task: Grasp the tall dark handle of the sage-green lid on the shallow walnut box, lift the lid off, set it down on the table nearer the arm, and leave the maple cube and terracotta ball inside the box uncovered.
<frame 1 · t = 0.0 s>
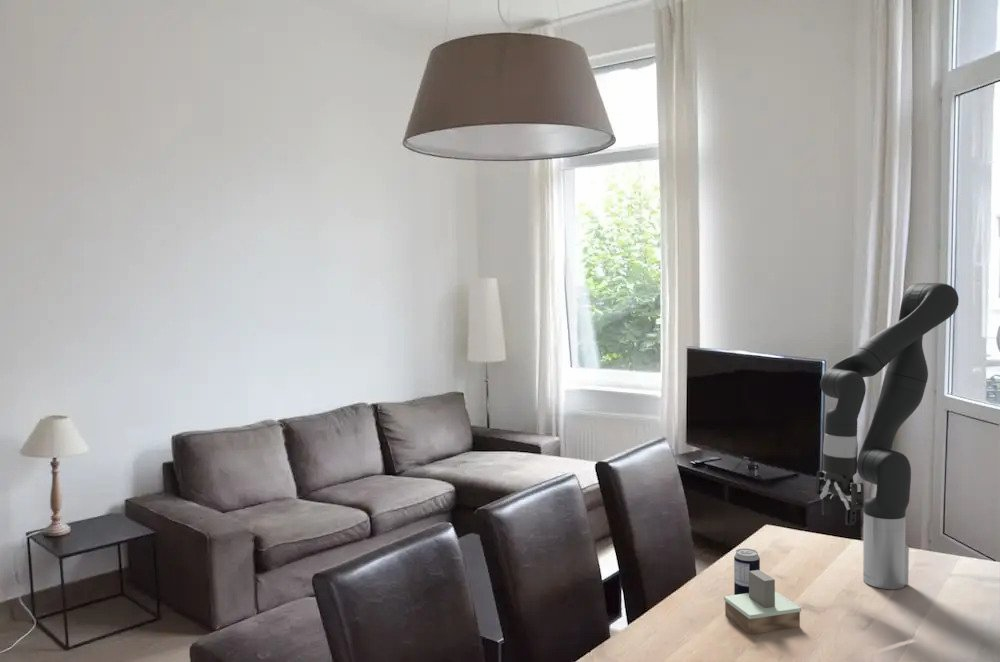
hand: (837, 519, 188), 17 cm above the table, tool pointing down, fingers open, 8 cm apart
terracotta ball: (751, 615, 171), point 2 cm above the table, touching box
box: (761, 623, 172), on the table
maple cube: (771, 619, 173), point 1 cm above the table, touching box
lid: (761, 605, 172), point 4 cm above the table, touching box
beverage can: (747, 603, 183), on the table
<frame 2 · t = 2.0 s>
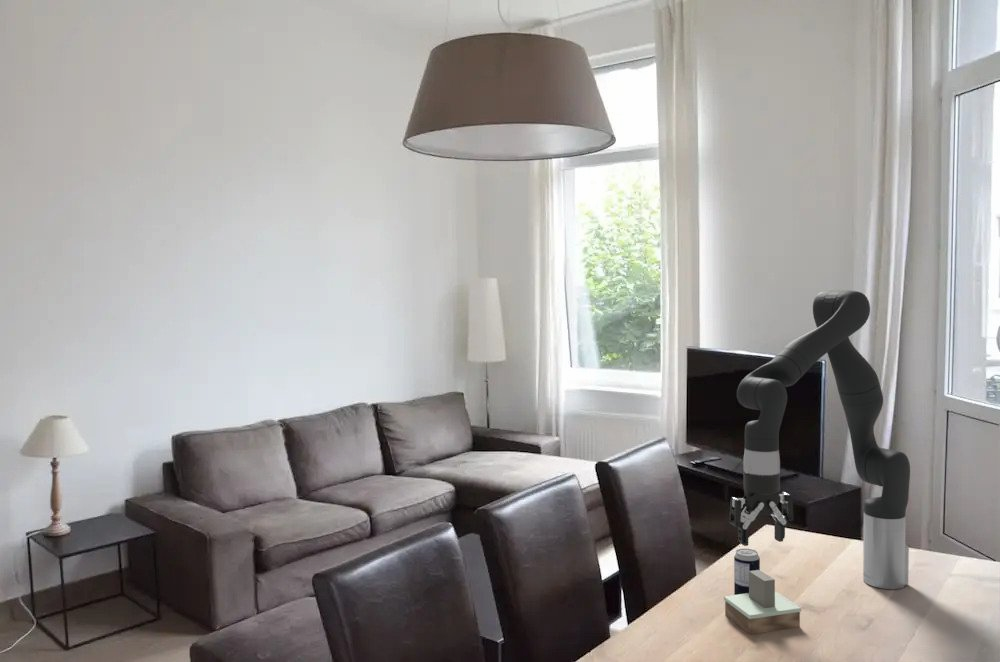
hand: (761, 542, 171), 18 cm above the table, tool pointing down, fingers open, 8 cm apart
nothing on the table moved.
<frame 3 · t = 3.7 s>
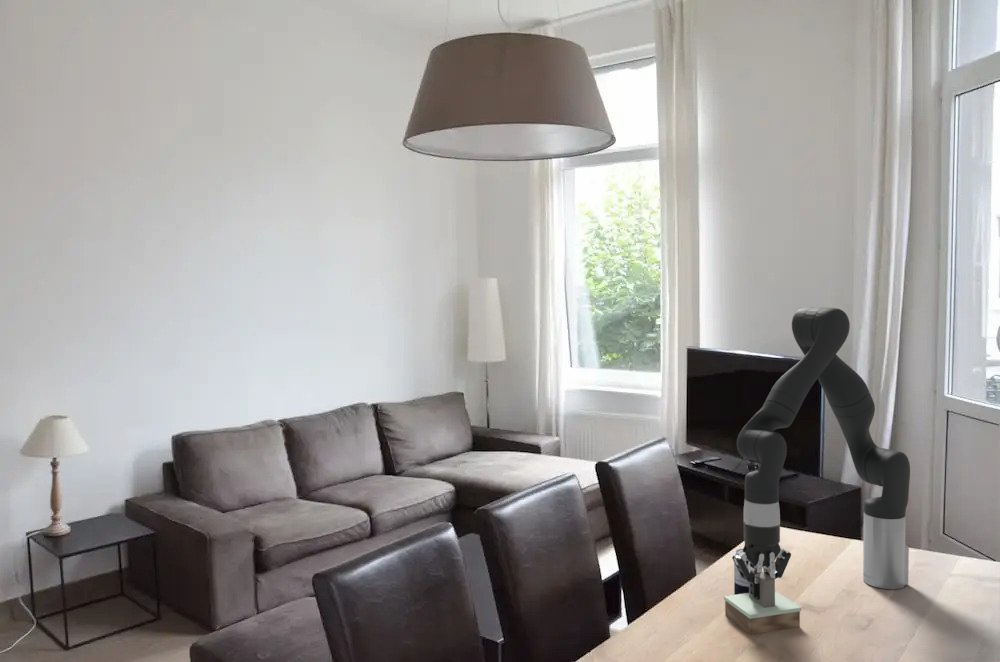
hand: (761, 597, 172), 6 cm above the table, tool pointing down, fingers closed on lid, 2 cm apart
lid: (761, 605, 172), point 4 cm above the table, touching gripper
everything else where it was.
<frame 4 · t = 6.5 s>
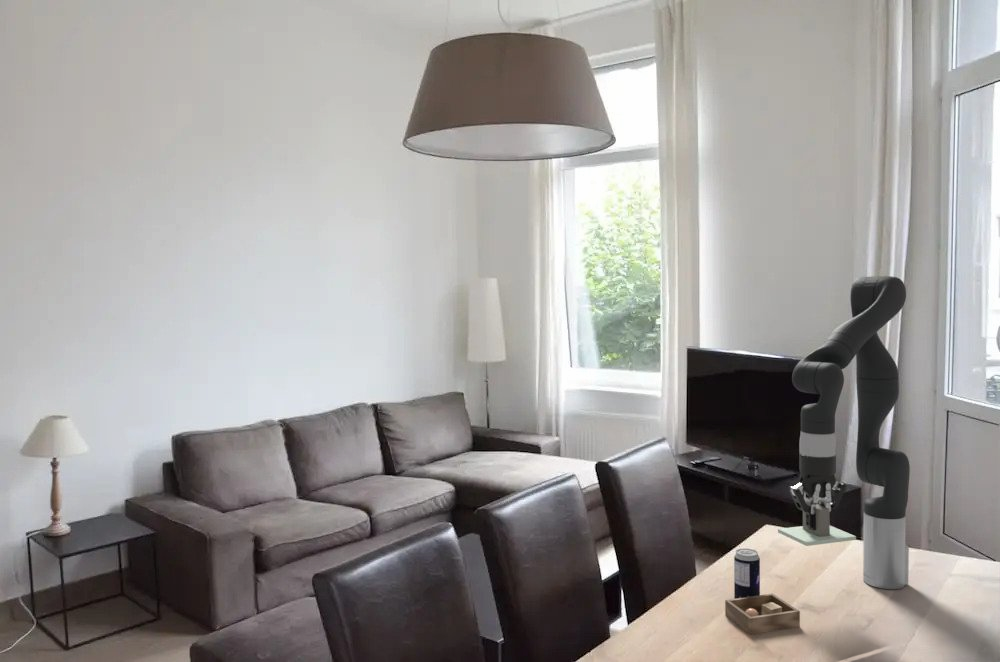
hand: (817, 528, 174), 20 cm above the table, tool pointing down, fingers closed on lid, 2 cm apart
lid: (816, 536, 175), point 18 cm above the table, touching gripper
everything else where it was.
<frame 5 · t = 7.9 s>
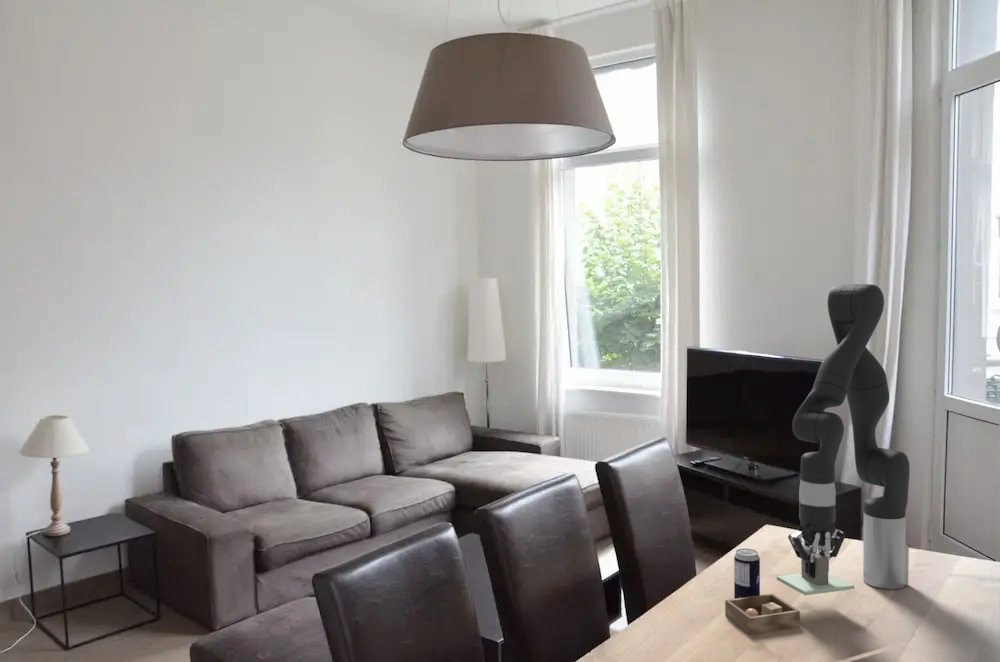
hand: (816, 576, 175), 9 cm above the table, tool pointing down, fingers closed on lid, 2 cm apart
lid: (814, 584, 176), point 7 cm above the table, touching gripper
everything else where it was.
when the fingers open (4 cm above the table, at t = 9.1 s): lid drops 2 cm, on the table.
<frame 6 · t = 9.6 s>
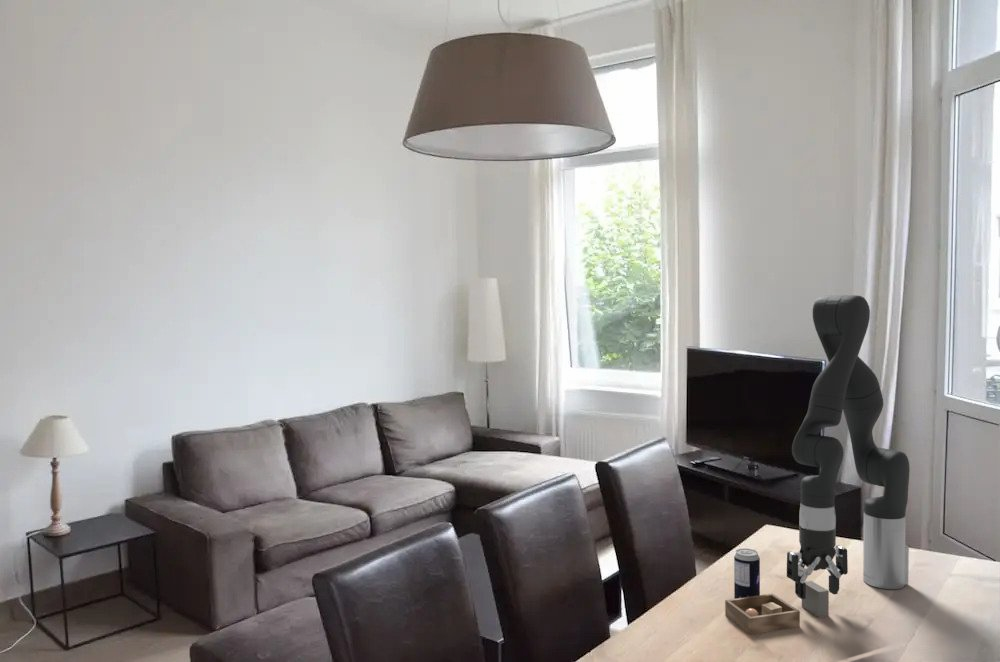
hand: (817, 595, 175), 5 cm above the table, tool pointing down, fingers open, 8 cm apart
lid: (814, 615, 176), on the table
everything else where it was.
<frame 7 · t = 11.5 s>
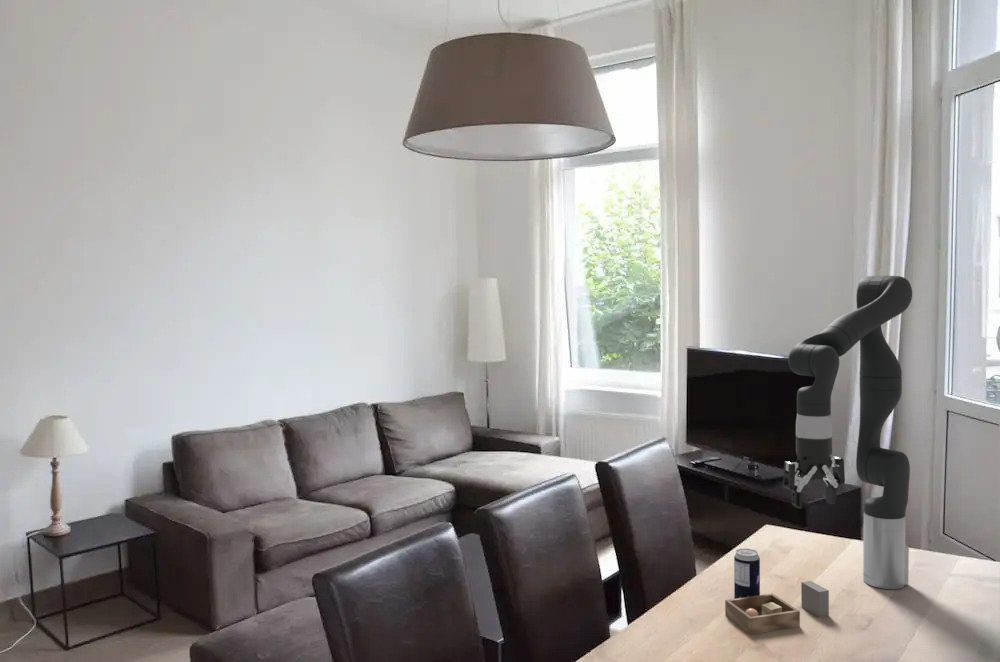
hand: (814, 505, 176), 25 cm above the table, tool pointing down, fingers open, 8 cm apart
nothing on the table moved.
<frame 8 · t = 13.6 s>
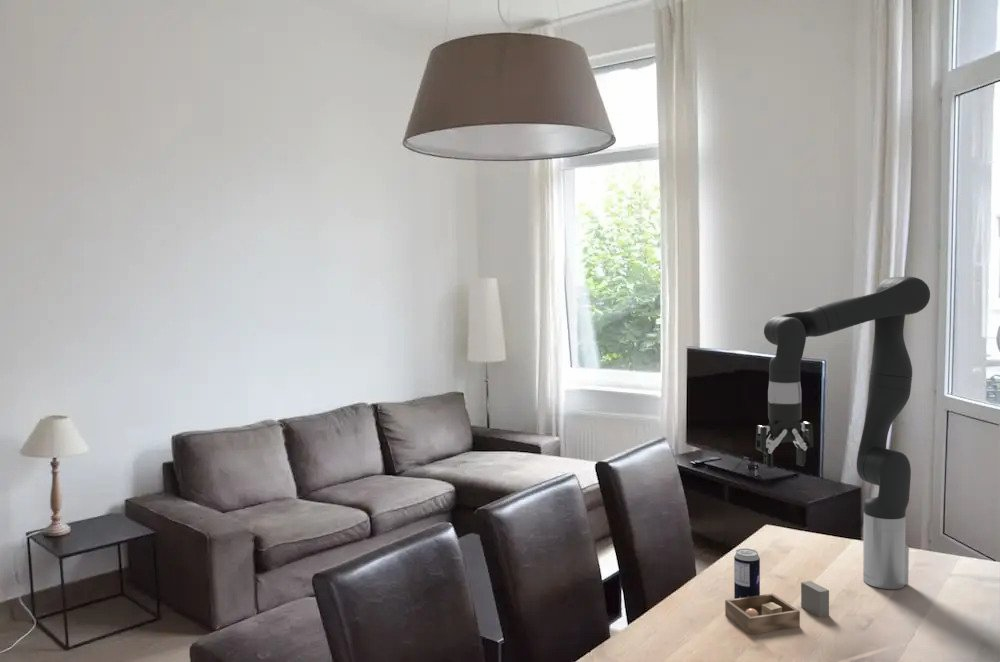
hand: (784, 466, 189), 30 cm above the table, tool pointing down, fingers open, 8 cm apart
nothing on the table moved.
at the end: lid inside the target area (0.7 cm from its centre), on the table; lid touching table; lid tilted 0° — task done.
